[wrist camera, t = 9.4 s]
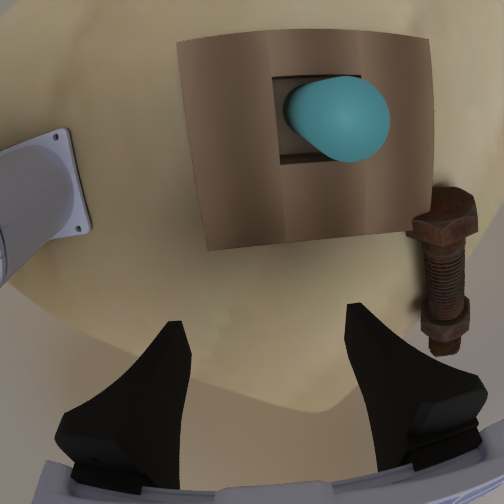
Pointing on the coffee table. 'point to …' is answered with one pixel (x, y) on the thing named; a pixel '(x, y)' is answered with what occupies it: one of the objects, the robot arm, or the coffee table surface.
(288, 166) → the bore block
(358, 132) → the pin
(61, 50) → the coffee table surface
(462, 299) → the bolt
